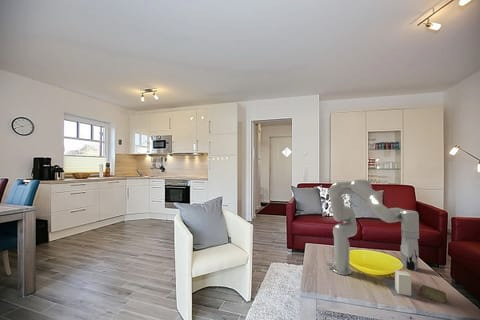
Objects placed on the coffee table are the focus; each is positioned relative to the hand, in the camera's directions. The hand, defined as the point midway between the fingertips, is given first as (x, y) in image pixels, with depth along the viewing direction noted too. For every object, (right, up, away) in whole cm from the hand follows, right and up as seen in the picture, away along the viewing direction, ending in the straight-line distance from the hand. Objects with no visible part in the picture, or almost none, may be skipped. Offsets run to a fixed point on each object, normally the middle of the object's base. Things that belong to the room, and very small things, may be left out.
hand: (410, 269), depth 123 cm
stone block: (+15, -18, +4) cm, 24 cm away
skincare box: (+29, -19, +41) cm, 54 cm away
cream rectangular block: (+2, -17, +9) cm, 20 cm away
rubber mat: (+4, -18, +14) cm, 23 cm away
